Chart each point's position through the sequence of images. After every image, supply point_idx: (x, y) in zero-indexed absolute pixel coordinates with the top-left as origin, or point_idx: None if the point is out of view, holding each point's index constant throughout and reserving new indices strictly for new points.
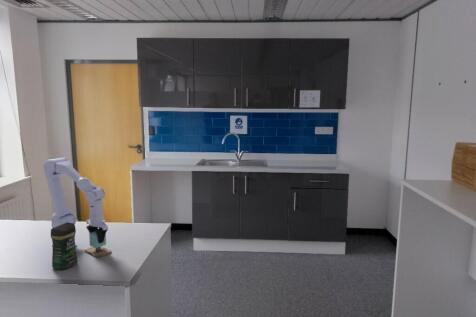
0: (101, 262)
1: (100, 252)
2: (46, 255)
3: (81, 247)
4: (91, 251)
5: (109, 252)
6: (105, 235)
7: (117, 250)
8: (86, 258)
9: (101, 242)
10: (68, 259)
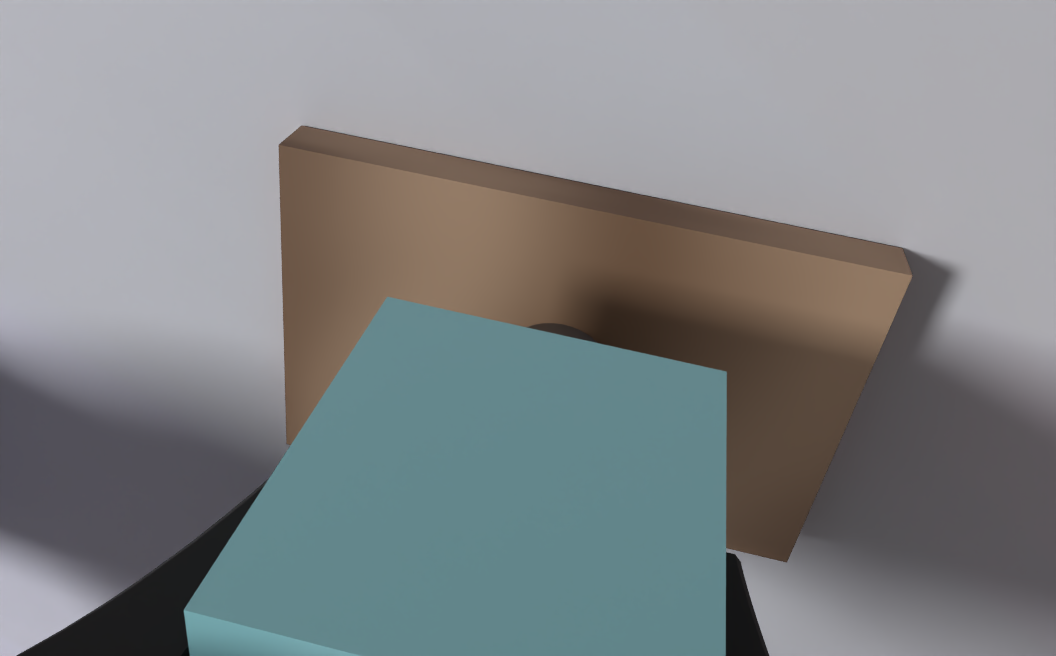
0: (997, 624)
1: None
2: (6, 652)
3: (45, 298)
4: None
5: (884, 314)
6: (720, 628)
7: (966, 50)
8: None
9: None
10: None
